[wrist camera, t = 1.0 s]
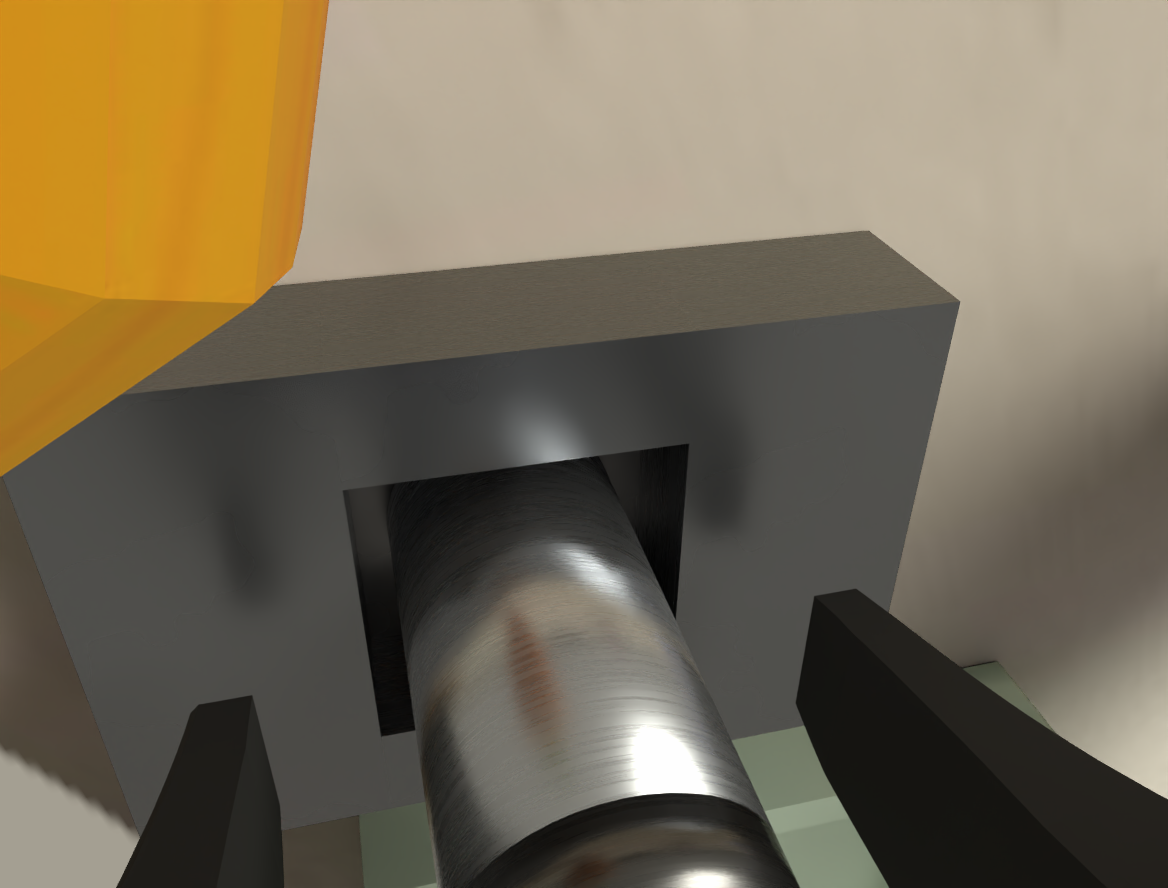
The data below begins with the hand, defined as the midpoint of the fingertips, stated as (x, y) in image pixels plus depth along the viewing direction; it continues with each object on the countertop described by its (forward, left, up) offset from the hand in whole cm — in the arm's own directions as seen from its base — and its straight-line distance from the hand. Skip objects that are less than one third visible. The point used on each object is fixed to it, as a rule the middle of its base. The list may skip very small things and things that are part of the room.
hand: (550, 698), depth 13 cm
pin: (0, 0, -4) cm, 4 cm away
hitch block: (0, 0, -5) cm, 5 cm away
